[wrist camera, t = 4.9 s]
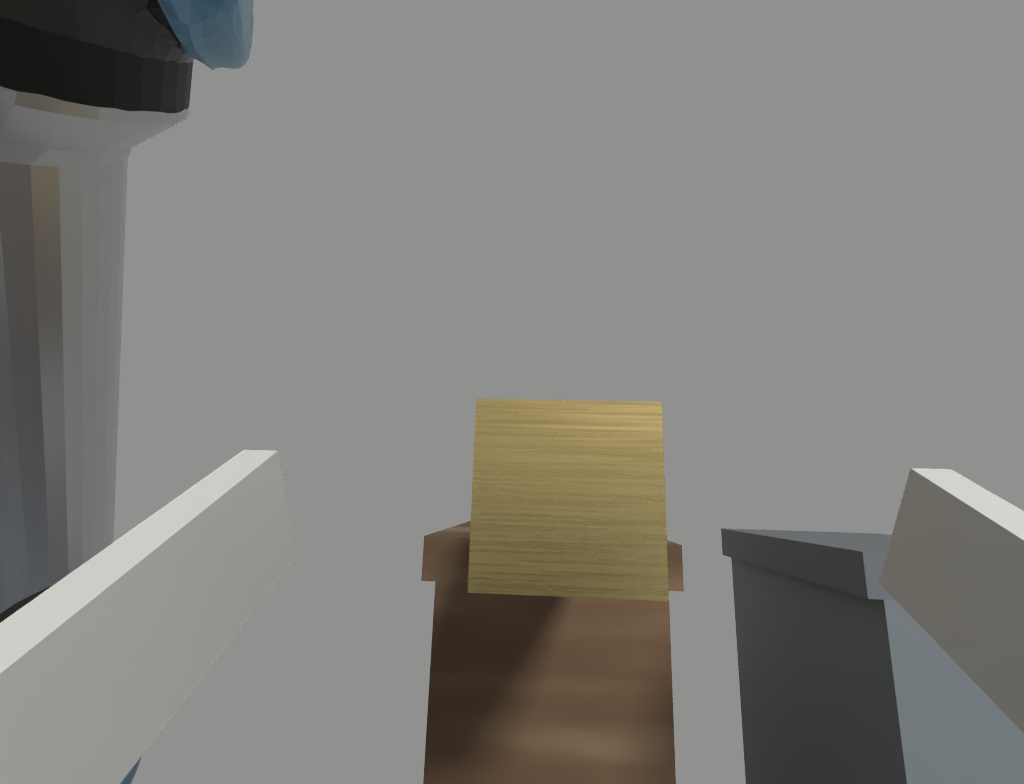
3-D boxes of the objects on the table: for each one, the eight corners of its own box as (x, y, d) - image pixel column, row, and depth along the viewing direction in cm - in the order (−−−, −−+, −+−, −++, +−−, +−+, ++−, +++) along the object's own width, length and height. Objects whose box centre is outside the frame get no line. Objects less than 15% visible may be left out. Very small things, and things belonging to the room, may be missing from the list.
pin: (495, 521, 29) (497, 454, 30) (596, 525, 29) (596, 456, 29) (370, 588, 7) (392, 339, 8) (773, 605, 7) (752, 343, 8)
